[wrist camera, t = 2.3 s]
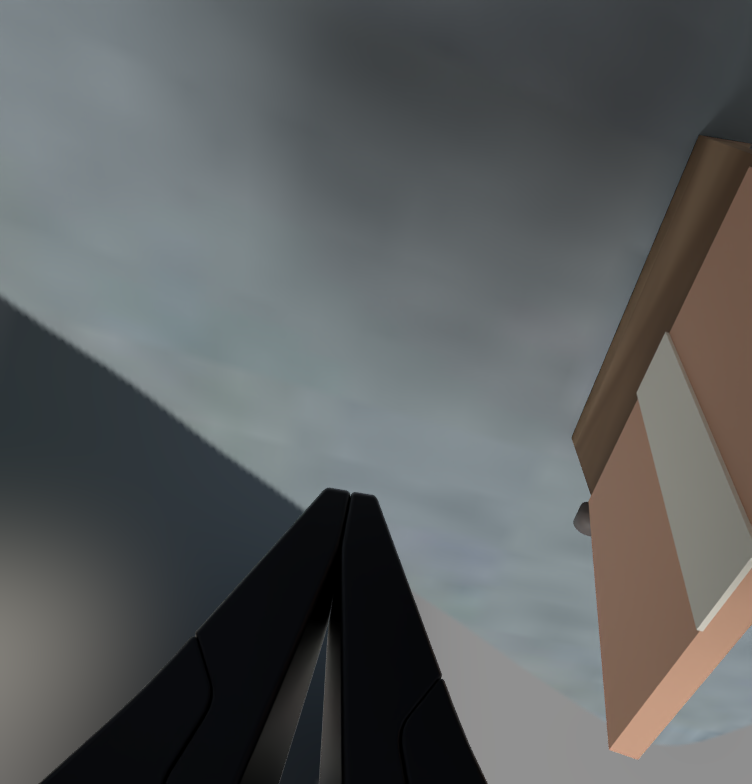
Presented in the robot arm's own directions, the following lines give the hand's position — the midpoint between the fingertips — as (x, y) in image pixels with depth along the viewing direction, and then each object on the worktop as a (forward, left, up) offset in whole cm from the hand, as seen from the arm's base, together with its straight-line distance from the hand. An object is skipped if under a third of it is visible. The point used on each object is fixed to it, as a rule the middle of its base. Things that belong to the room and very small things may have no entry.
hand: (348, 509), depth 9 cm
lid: (-8, 0, -4) cm, 8 cm away
